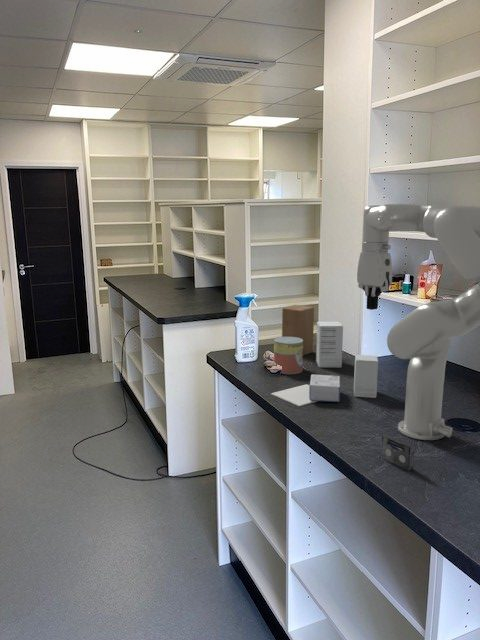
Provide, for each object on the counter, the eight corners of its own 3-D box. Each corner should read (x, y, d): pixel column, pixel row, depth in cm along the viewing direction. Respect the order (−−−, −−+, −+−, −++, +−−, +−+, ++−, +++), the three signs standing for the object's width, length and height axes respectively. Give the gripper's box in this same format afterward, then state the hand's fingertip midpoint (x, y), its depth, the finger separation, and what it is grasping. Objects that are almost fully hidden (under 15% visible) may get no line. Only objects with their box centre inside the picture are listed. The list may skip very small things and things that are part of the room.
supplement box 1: (342, 367, 203) (343, 326, 200) (318, 367, 203) (319, 326, 200) (337, 361, 213) (339, 321, 209) (315, 361, 213) (316, 321, 209)
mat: (335, 396, 171) (335, 395, 171) (298, 406, 162) (299, 405, 162) (306, 385, 183) (306, 384, 183) (270, 394, 174) (271, 393, 173)
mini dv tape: (412, 469, 123) (414, 445, 121) (408, 471, 122) (410, 447, 121) (385, 456, 129) (386, 434, 128) (381, 458, 128) (382, 435, 127)
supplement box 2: (376, 398, 170) (378, 361, 167) (353, 396, 171) (355, 360, 169) (375, 390, 177) (377, 355, 174) (353, 389, 178) (354, 354, 176)
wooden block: (281, 353, 225) (281, 307, 221) (294, 348, 233) (295, 304, 229) (300, 357, 219) (301, 310, 215) (313, 352, 226) (314, 307, 222)
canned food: (295, 375, 193) (296, 344, 191) (268, 371, 199) (268, 341, 197) (307, 368, 203) (307, 338, 201) (281, 364, 208) (281, 335, 206)
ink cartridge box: (340, 403, 164) (339, 387, 178) (340, 387, 163) (340, 372, 177) (308, 401, 166) (310, 386, 180) (309, 385, 165) (311, 370, 179)
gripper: (404, 248, 149) (400, 311, 153) (364, 246, 161) (361, 304, 165) (387, 249, 145) (383, 314, 149) (347, 247, 157) (345, 306, 161)
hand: (372, 308), depth 157 cm, fingers closed
